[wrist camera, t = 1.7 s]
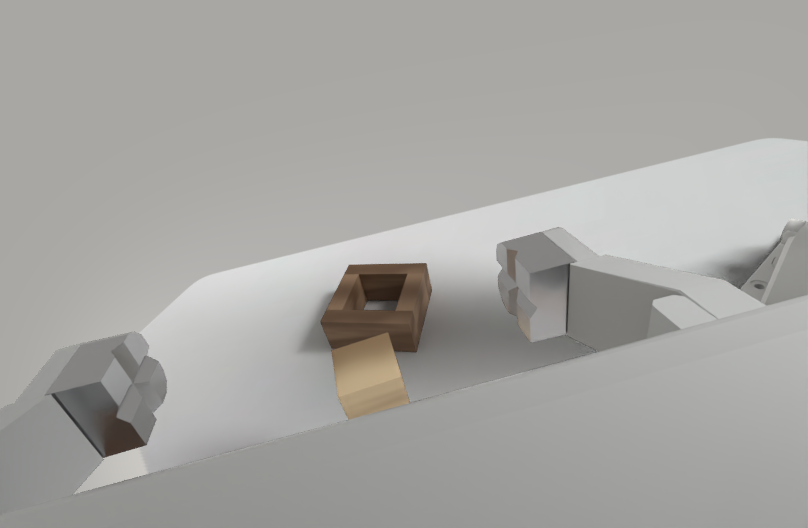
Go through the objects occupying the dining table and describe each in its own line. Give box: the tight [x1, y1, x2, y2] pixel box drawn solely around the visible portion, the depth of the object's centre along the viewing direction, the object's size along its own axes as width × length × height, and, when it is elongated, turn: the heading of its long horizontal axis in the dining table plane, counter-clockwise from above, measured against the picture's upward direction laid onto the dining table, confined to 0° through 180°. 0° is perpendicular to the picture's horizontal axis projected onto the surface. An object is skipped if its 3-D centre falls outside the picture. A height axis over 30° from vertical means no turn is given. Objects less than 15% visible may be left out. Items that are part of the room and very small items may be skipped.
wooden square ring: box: [321, 263, 432, 352], centre depth 53 cm, size 10×10×4 cm
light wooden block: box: [331, 332, 410, 420], centre depth 32 cm, size 4×4×16 cm
